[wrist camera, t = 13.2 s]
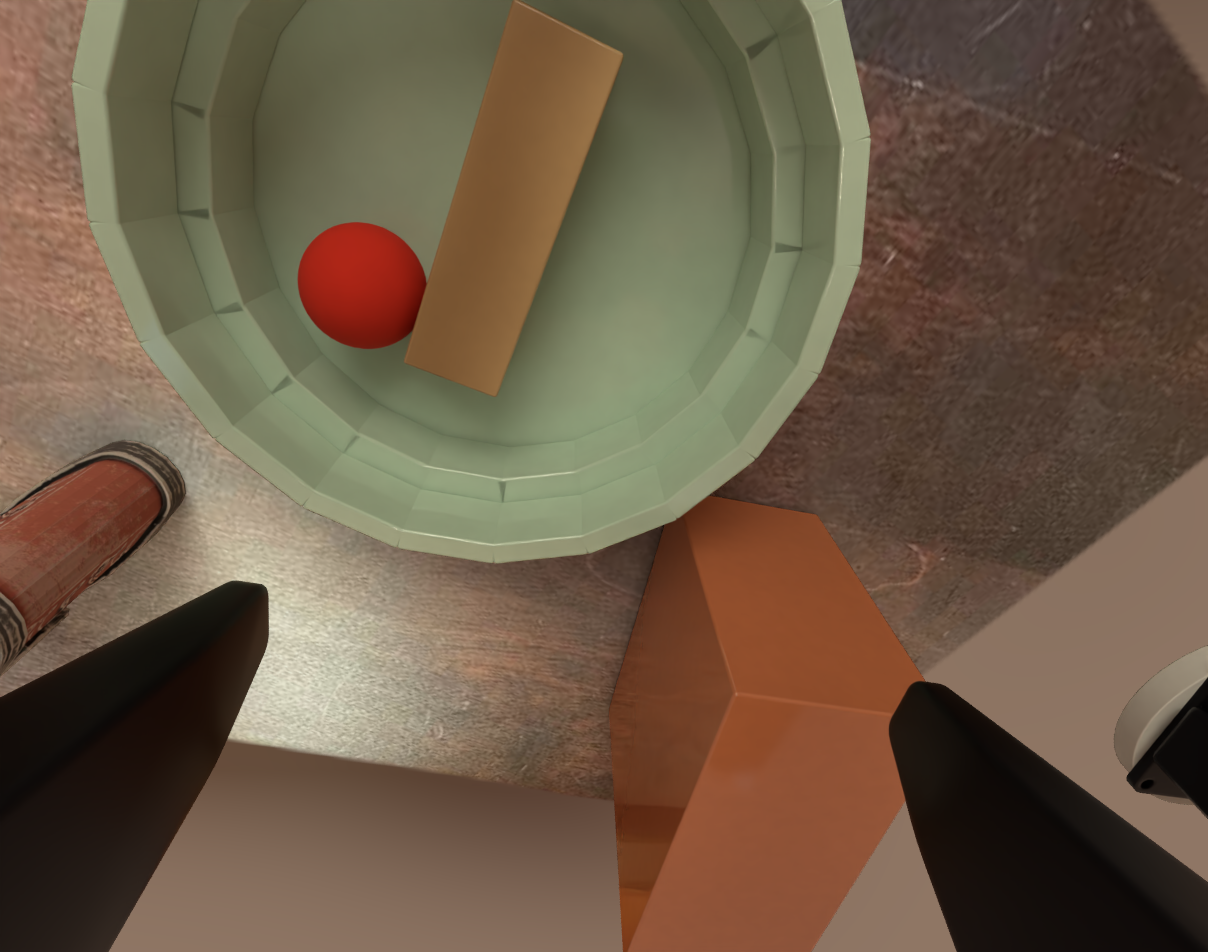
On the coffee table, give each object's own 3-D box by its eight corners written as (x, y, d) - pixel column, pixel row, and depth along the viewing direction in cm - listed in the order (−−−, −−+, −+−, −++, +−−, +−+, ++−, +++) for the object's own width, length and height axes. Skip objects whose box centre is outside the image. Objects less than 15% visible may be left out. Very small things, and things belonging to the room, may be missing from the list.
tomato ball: (459, 257, 16) (406, 371, 16) (433, 270, 18) (388, 368, 18) (334, 183, 14) (275, 308, 14) (325, 209, 17) (276, 315, 17)
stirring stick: (617, 67, 16) (625, 54, 13) (505, 368, 19) (496, 399, 17) (522, 18, 15) (513, -4, 13) (424, 336, 18) (402, 363, 16)
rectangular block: (818, 514, 22) (955, 724, 14) (729, 725, 26) (796, 978, 18) (675, 488, 22) (734, 693, 13) (608, 709, 26) (622, 964, 18)
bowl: (884, -47, 15) (1010, -126, 11) (701, 509, 22) (734, 603, 17) (195, -256, 13) (3, -458, 9) (221, 424, 20) (119, 505, 15)
